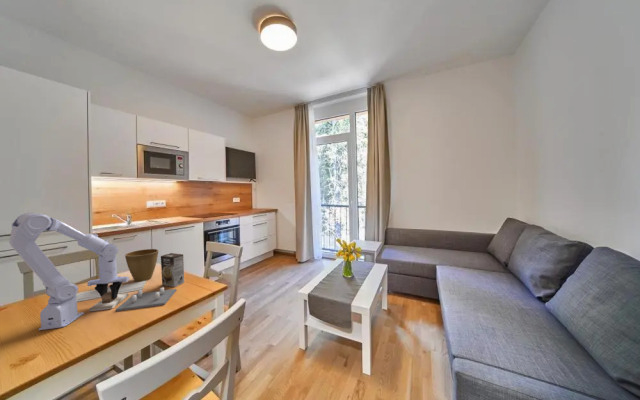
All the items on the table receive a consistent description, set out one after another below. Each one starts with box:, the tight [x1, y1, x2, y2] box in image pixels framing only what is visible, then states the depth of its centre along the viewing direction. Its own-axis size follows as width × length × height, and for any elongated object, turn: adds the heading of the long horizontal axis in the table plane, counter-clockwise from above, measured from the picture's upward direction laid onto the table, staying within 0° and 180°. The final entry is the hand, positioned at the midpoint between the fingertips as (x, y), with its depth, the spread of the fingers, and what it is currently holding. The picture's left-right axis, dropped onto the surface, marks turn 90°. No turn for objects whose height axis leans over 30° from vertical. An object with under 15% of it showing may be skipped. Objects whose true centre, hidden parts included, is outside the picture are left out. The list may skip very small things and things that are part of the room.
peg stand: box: [115, 286, 177, 312], centre depth 101 cm, size 14×18×4 cm
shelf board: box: [89, 291, 129, 312], centre depth 99 cm, size 12×8×5 cm, turn 15°
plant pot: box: [124, 248, 159, 283], centre depth 125 cm, size 15×15×16 cm
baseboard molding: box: [76, 280, 148, 303], centre depth 109 cm, size 31×3×12 cm
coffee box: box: [160, 252, 185, 288], centre depth 118 cm, size 9×6×16 cm
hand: (110, 298), depth 99 cm, fingers closed on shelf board, 3 cm apart
